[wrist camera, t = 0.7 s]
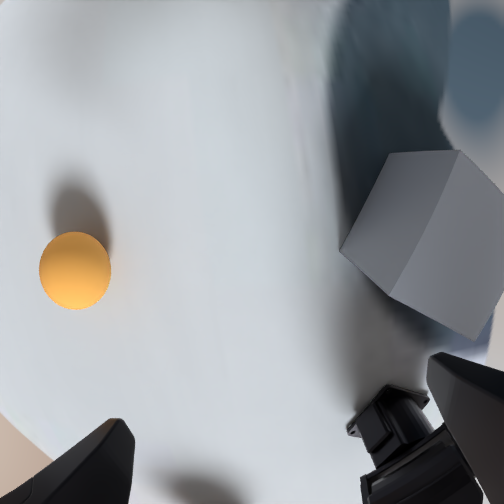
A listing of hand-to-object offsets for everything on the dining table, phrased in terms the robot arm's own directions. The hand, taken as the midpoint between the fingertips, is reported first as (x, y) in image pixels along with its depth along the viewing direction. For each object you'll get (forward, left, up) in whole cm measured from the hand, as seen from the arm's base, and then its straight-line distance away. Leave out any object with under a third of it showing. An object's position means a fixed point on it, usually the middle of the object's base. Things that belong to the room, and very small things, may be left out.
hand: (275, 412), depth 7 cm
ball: (+11, +5, -11) cm, 16 cm away
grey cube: (-8, -7, -13) cm, 17 cm away
